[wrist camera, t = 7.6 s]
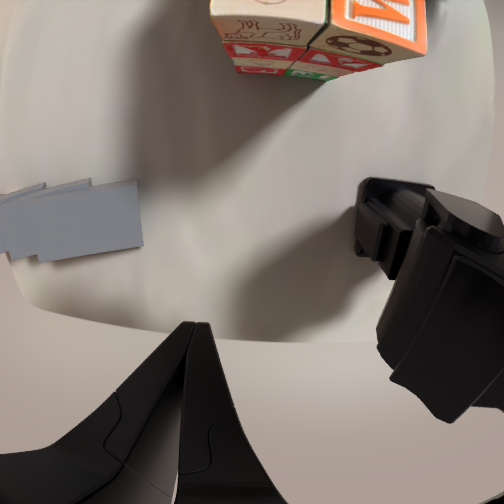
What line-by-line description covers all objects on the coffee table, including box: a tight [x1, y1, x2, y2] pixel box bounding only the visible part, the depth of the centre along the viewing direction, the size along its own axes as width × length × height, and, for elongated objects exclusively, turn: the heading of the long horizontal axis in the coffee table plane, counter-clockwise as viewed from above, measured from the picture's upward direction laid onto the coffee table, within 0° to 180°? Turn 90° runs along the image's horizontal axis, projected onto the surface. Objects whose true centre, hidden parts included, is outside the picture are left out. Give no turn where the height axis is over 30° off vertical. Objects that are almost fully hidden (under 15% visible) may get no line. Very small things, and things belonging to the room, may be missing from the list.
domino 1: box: [0, 183, 46, 254], centre depth 17 cm, size 2×5×9 cm
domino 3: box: [25, 180, 144, 263], centre depth 18 cm, size 2×5×9 cm
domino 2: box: [0, 178, 92, 261], centre depth 18 cm, size 2×5×9 cm
